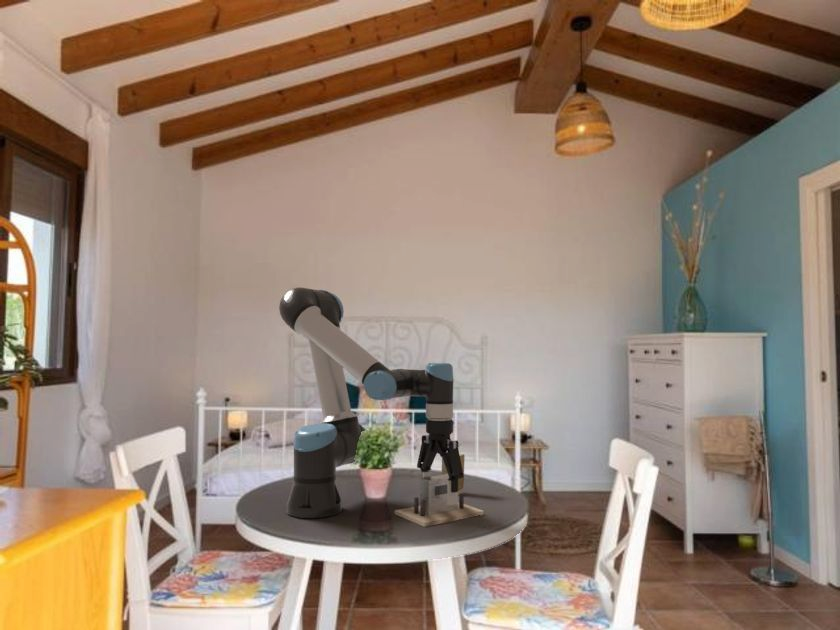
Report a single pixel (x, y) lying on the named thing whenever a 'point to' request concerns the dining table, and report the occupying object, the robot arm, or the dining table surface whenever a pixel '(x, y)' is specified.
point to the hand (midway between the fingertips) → (439, 499)
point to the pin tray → (433, 519)
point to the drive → (435, 494)
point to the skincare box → (461, 480)
